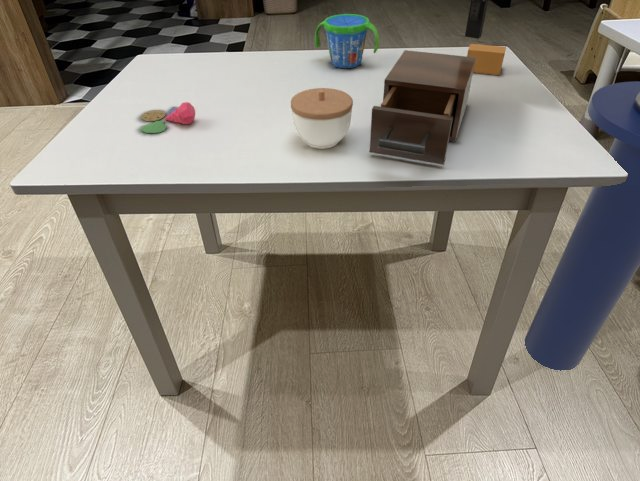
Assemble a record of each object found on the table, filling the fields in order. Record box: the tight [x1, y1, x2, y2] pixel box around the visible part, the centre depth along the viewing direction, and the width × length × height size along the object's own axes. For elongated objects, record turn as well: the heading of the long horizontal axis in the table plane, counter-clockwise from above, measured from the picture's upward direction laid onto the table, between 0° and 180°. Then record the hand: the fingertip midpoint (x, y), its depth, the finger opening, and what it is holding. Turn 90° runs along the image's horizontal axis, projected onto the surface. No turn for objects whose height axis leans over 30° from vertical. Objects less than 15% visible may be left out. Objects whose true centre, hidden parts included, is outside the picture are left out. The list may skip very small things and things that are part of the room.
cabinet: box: [382, 49, 476, 143], centre depth 86 cm, size 16×14×10 cm
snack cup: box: [314, 13, 380, 69], centre depth 109 cm, size 16×10×10 cm
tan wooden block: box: [466, 43, 507, 76], centre depth 106 cm, size 8×4×5 cm, turn 69°
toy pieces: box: [140, 101, 196, 134], centre depth 89 cm, size 12×11×4 cm
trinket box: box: [290, 87, 354, 150], centre depth 80 cm, size 11×11×9 cm
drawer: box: [369, 86, 458, 166], centre depth 77 cm, size 20×13×8 cm, turn 159°
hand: (472, 36), depth 88 cm, fingers closed
